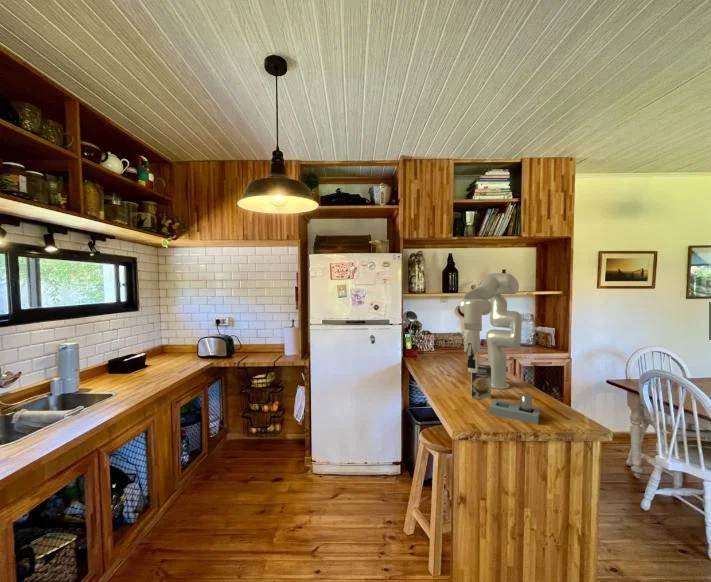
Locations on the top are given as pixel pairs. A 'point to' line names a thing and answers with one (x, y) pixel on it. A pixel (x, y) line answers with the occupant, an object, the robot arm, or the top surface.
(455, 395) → the top surface
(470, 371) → the cream rounded smooth part
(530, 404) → the metal cylinder peg
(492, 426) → the top surface
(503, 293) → the robot arm
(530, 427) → the top surface
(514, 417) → the block
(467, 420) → the top surface
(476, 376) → the coffee box
